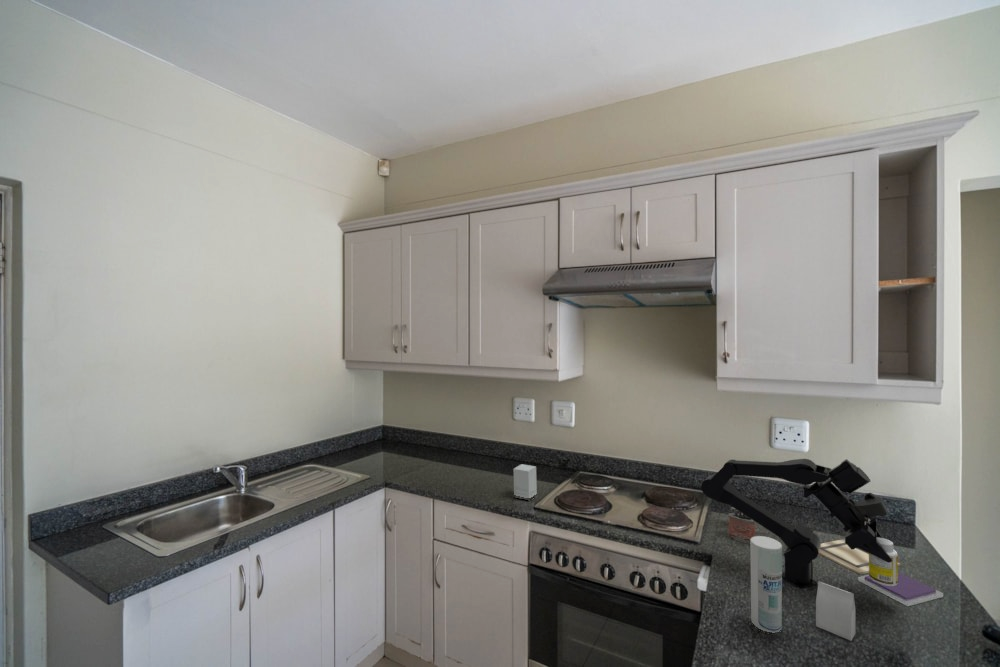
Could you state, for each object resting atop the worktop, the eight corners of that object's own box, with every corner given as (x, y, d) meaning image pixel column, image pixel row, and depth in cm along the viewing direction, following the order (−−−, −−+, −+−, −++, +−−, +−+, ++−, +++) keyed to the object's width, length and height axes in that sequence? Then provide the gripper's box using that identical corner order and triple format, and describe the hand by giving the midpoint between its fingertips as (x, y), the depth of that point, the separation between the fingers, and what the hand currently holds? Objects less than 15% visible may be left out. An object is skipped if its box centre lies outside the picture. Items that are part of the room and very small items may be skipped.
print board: (859, 574, 128) (860, 572, 128) (807, 548, 144) (807, 545, 144) (900, 565, 133) (900, 563, 133) (845, 540, 148) (845, 538, 148)
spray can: (770, 615, 111) (770, 535, 111) (788, 634, 104) (788, 548, 104) (744, 616, 111) (744, 536, 110) (761, 635, 104) (760, 549, 104)
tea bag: (851, 641, 102) (851, 597, 102) (815, 626, 107) (815, 584, 107) (855, 633, 104) (855, 590, 104) (820, 619, 109) (820, 578, 109)
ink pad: (907, 606, 114) (907, 600, 114) (858, 580, 125) (858, 575, 125) (943, 597, 117) (943, 591, 117) (891, 572, 129) (891, 567, 129)
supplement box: (537, 496, 190) (536, 466, 190) (528, 502, 184) (528, 471, 184) (522, 492, 194) (521, 463, 194) (513, 498, 188) (512, 468, 188)
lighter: (756, 541, 148) (756, 511, 148) (753, 545, 146) (753, 514, 146) (730, 533, 154) (730, 504, 154) (727, 537, 151) (727, 507, 151)
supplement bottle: (882, 574, 117) (882, 535, 117) (903, 586, 112) (904, 545, 111) (862, 575, 117) (863, 536, 116) (883, 588, 111) (883, 546, 111)
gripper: (862, 496, 109) (924, 556, 102) (864, 476, 123) (918, 527, 116) (822, 520, 114) (879, 578, 107) (828, 497, 128) (878, 548, 122)
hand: (890, 556), depth 113 cm, fingers closed on supplement bottle, 5 cm apart
